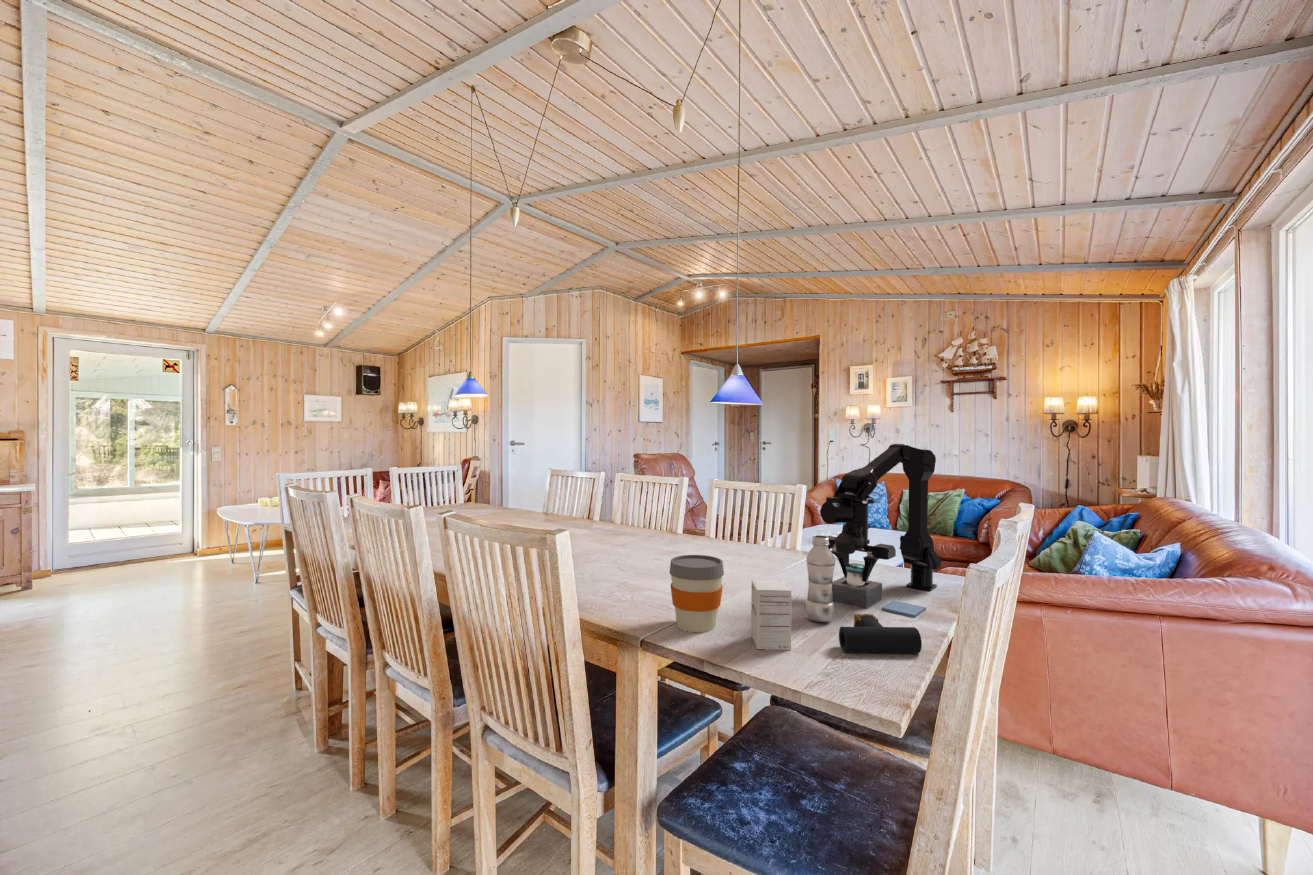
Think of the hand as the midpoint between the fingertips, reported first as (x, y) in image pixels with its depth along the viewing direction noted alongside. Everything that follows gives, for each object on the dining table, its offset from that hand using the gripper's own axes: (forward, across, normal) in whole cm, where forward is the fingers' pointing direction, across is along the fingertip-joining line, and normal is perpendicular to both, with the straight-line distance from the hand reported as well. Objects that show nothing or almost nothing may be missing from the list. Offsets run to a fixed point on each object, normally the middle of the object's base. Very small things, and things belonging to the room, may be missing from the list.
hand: (855, 579), depth 144 cm
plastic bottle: (+6, 0, -21) cm, 22 cm away
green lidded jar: (+6, 0, 0) cm, 6 cm away
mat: (+6, +12, +1) cm, 13 cm away
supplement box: (+6, 0, -41) cm, 41 cm away
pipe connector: (+6, +15, -26) cm, 31 cm away
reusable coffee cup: (+6, -18, -44) cm, 48 cm away
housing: (+6, 0, 0) cm, 6 cm away
